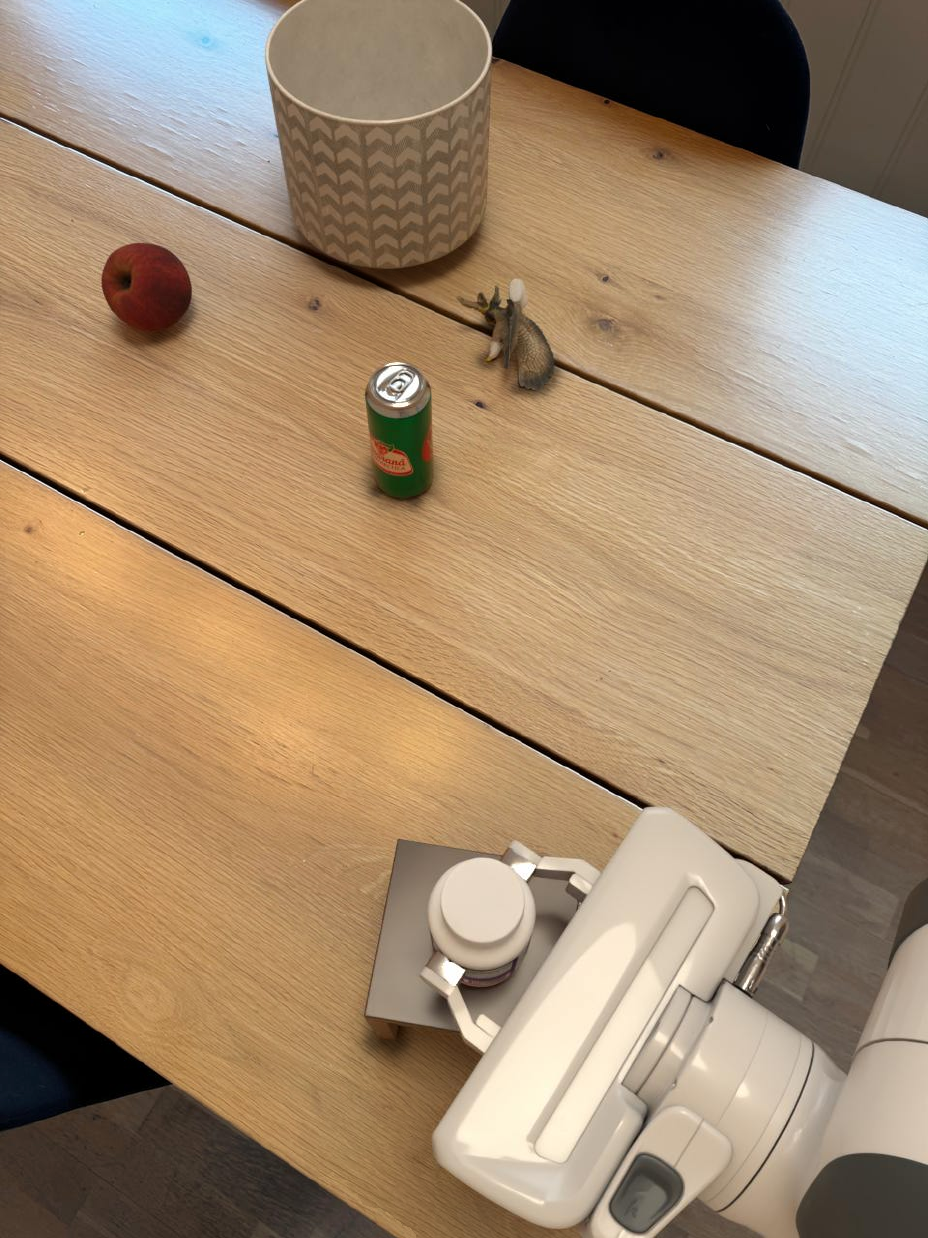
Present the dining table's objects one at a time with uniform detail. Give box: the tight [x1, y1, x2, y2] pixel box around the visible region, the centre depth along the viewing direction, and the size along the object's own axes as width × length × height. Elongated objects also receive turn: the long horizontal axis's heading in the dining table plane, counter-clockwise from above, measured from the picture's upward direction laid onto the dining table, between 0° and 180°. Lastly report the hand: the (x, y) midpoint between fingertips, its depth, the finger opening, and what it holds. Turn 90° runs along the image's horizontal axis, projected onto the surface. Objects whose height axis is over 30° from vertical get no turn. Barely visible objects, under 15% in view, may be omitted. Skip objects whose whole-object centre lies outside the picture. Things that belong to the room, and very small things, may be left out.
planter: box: [264, 0, 493, 270], centre depth 93 cm, size 19×19×18 cm
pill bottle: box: [427, 858, 536, 987], centre depth 52 cm, size 5×5×10 cm
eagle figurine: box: [456, 278, 555, 391], centre depth 91 cm, size 8×7×9 cm
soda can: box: [364, 361, 435, 499], centre depth 82 cm, size 5×5×12 cm
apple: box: [101, 242, 193, 333], centre depth 91 cm, size 7×8×8 cm
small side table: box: [363, 838, 580, 1041], centre depth 63 cm, size 11×10×12 cm
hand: (466, 908), depth 52 cm, fingers closed on pill bottle, 5 cm apart
